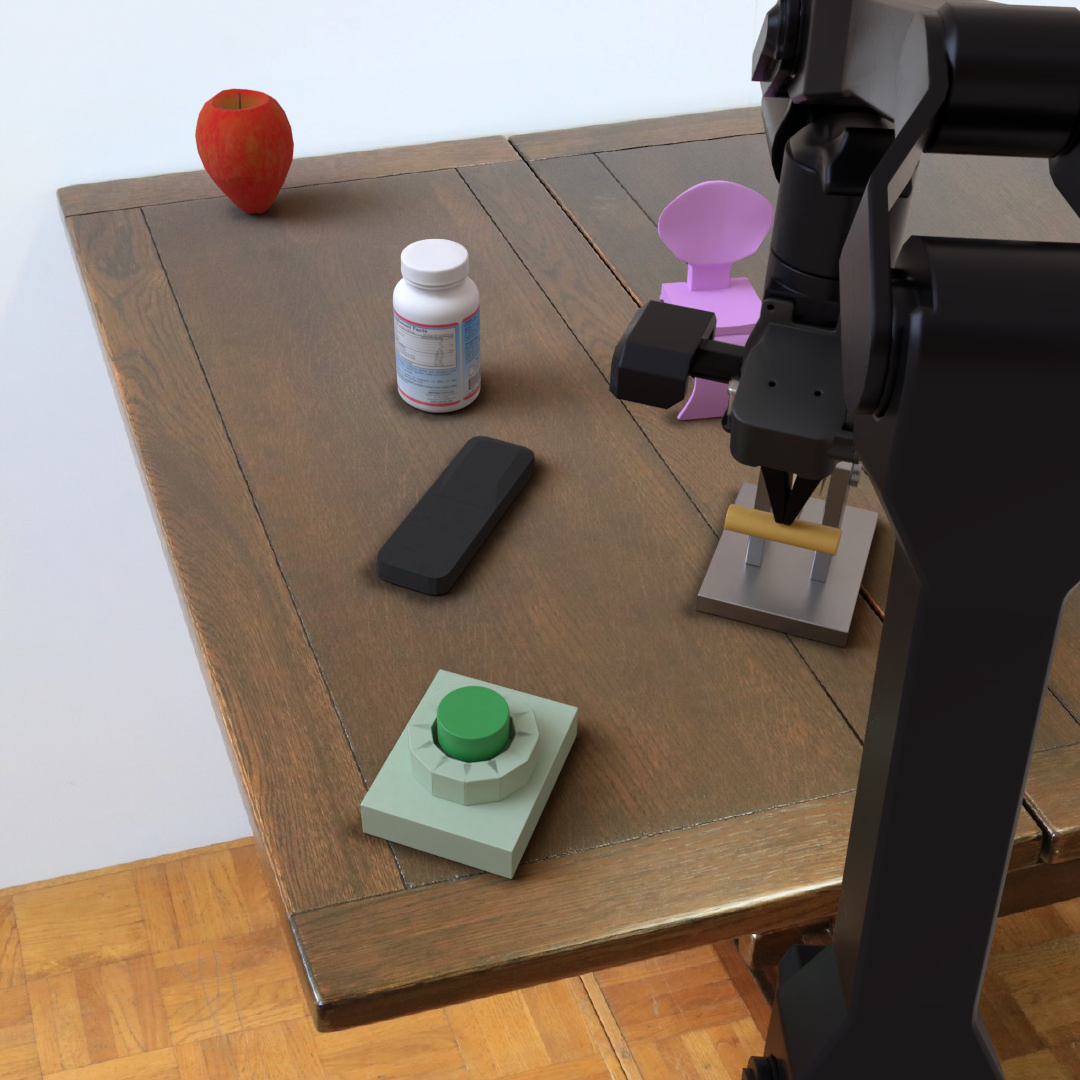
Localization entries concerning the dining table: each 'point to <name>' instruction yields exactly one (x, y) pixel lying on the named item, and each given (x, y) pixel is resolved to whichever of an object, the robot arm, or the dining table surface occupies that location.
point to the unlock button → (473, 723)
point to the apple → (245, 146)
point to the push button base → (471, 782)
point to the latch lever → (784, 528)
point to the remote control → (455, 515)
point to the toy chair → (715, 268)
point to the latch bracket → (793, 567)
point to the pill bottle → (437, 327)
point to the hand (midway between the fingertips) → (784, 520)
